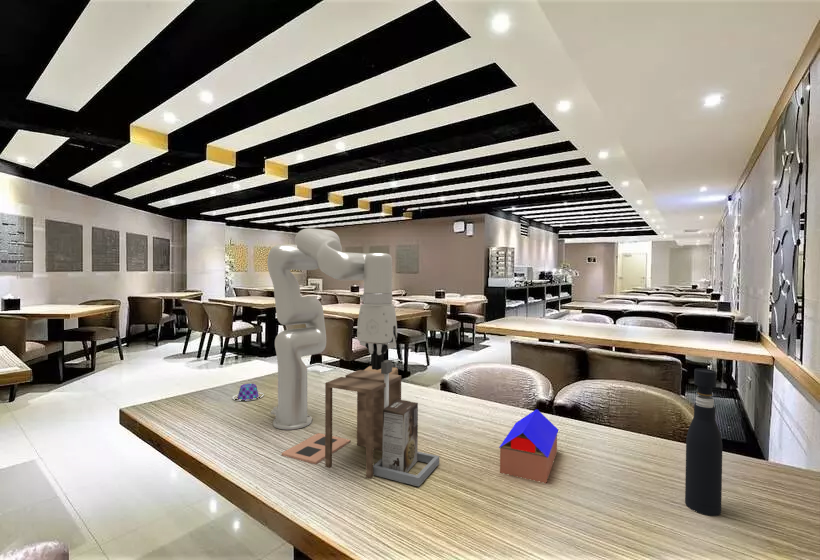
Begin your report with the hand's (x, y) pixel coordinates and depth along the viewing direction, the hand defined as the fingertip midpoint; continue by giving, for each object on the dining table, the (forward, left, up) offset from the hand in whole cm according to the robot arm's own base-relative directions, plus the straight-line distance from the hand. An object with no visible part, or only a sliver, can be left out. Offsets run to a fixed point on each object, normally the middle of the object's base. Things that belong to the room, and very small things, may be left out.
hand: (377, 368), depth 108 cm
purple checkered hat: (-76, +26, -26) cm, 84 cm away
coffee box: (+6, +1, -26) cm, 26 cm away
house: (+37, +19, -26) cm, 49 cm away
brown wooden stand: (-4, 0, -25) cm, 26 cm away
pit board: (-20, 0, -25) cm, 32 cm away
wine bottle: (+74, +14, -26) cm, 80 cm away
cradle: (+9, 0, -25) cm, 27 cm away
